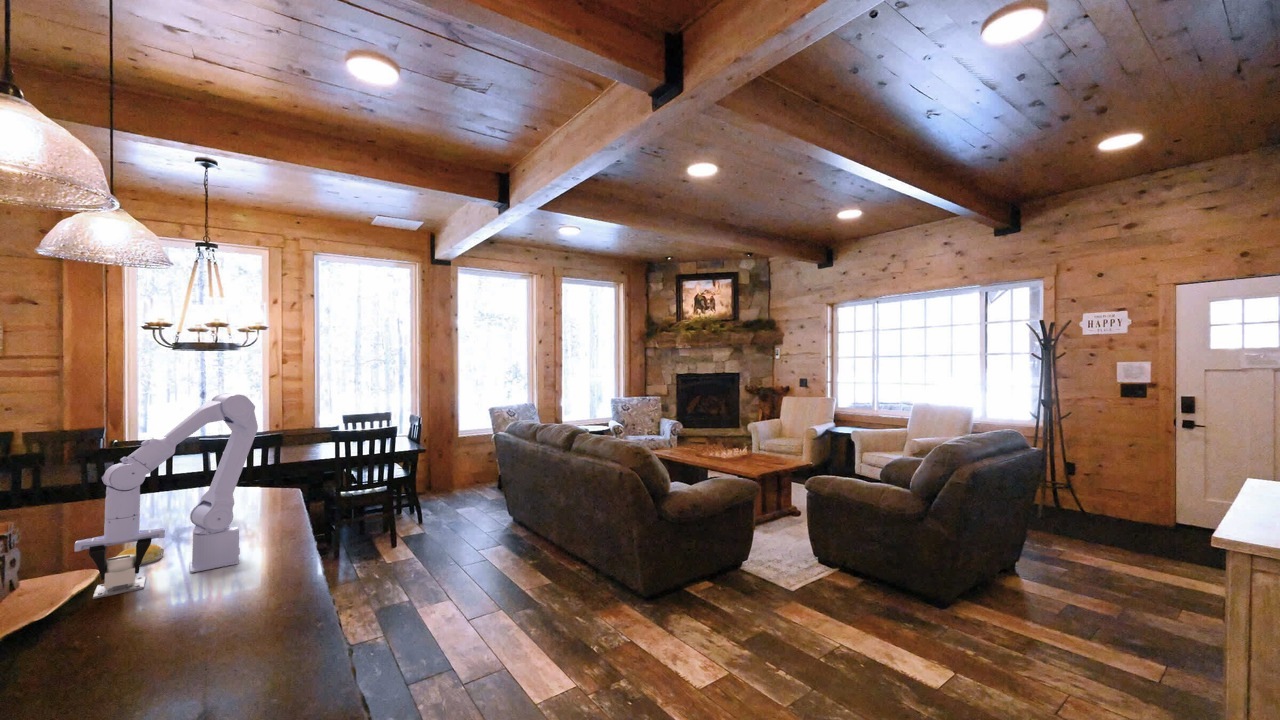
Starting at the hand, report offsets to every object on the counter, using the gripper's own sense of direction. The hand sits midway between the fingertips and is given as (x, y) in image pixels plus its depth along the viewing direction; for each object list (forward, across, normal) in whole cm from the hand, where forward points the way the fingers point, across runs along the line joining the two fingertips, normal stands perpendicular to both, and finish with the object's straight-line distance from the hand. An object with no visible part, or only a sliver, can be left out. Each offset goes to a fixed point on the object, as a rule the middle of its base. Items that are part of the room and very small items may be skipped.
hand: (120, 575), depth 117 cm
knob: (+2, 0, 0) cm, 2 cm away
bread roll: (+3, -2, -20) cm, 21 cm away
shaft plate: (+3, 0, 0) cm, 3 cm away
